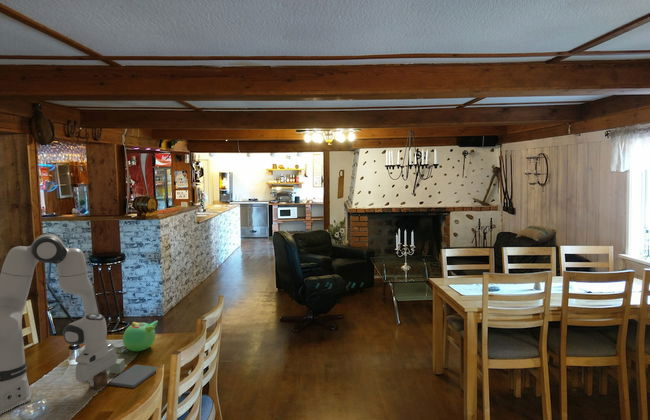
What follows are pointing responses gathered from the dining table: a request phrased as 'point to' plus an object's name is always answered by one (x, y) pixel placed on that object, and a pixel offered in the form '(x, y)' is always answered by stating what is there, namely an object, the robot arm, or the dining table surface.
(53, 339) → the dining table surface
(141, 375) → the slate board
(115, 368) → the sage cube
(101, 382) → the walnut cube
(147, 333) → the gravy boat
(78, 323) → the robot arm
